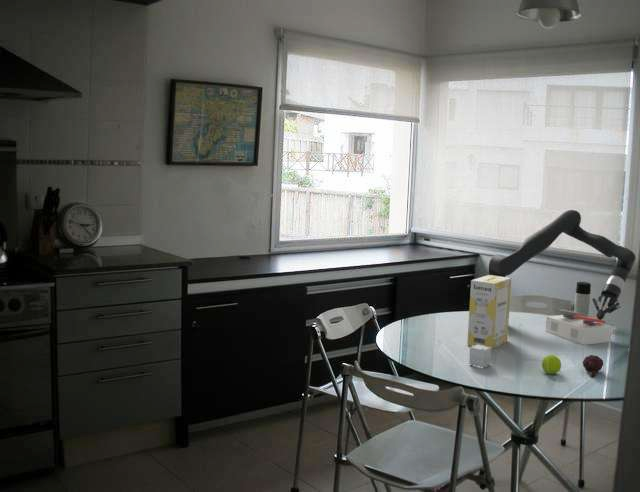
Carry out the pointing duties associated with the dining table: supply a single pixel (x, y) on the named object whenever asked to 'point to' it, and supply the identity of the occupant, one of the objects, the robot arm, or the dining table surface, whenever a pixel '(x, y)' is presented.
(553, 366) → the tennis ball
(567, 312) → the rocker
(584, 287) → the spray can
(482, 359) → the skincare box
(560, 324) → the power strip
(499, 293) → the pasta box
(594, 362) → the icecream
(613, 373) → the dining table surface
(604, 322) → the rocker
